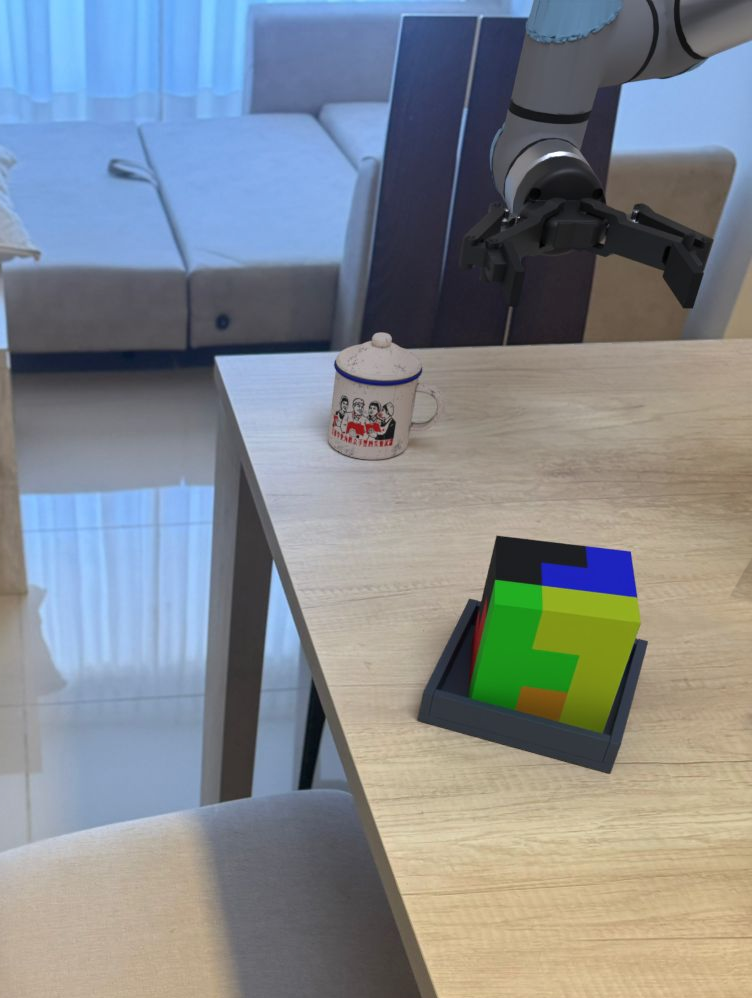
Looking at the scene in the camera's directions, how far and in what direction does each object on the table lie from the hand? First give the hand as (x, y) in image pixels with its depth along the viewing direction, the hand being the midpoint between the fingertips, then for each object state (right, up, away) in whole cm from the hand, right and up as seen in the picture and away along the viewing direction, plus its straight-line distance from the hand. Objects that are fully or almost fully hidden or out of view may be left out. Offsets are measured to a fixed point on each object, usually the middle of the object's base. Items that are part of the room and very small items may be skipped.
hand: (604, 290), depth 90 cm
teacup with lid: (-11, -2, +35) cm, 37 cm away
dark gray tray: (-5, -31, +2) cm, 32 cm away
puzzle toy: (-5, -31, +1) cm, 31 cm away
